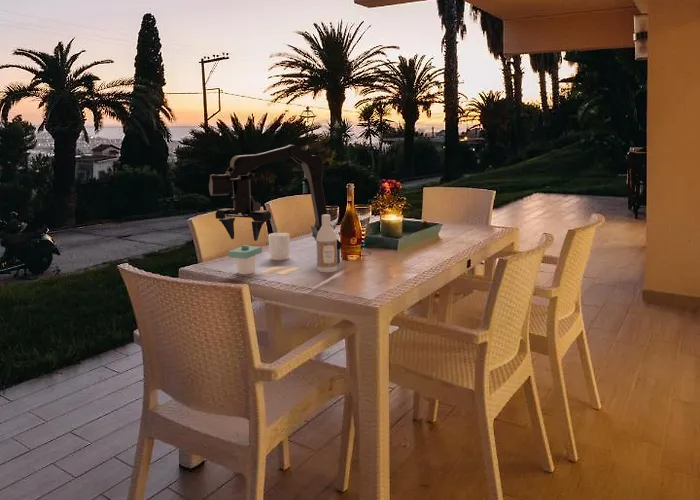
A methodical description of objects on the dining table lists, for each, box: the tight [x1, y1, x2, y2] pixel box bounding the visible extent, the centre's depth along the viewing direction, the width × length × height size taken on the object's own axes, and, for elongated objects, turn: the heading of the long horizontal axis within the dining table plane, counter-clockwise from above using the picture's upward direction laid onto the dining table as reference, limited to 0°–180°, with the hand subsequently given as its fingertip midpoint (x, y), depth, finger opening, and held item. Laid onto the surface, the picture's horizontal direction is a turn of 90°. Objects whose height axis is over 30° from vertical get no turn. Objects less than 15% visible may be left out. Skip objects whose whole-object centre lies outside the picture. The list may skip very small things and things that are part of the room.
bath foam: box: [315, 213, 338, 273], centre depth 205 cm, size 7×7×20 cm
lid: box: [227, 244, 263, 259], centre depth 204 cm, size 7×10×3 cm
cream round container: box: [235, 255, 256, 275], centre depth 205 cm, size 7×7×7 cm
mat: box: [260, 265, 301, 276], centre depth 207 cm, size 10×10×1 cm
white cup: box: [268, 232, 290, 261], centre depth 226 cm, size 8×8×10 cm
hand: (244, 239), depth 204 cm, fingers open, 9 cm apart
